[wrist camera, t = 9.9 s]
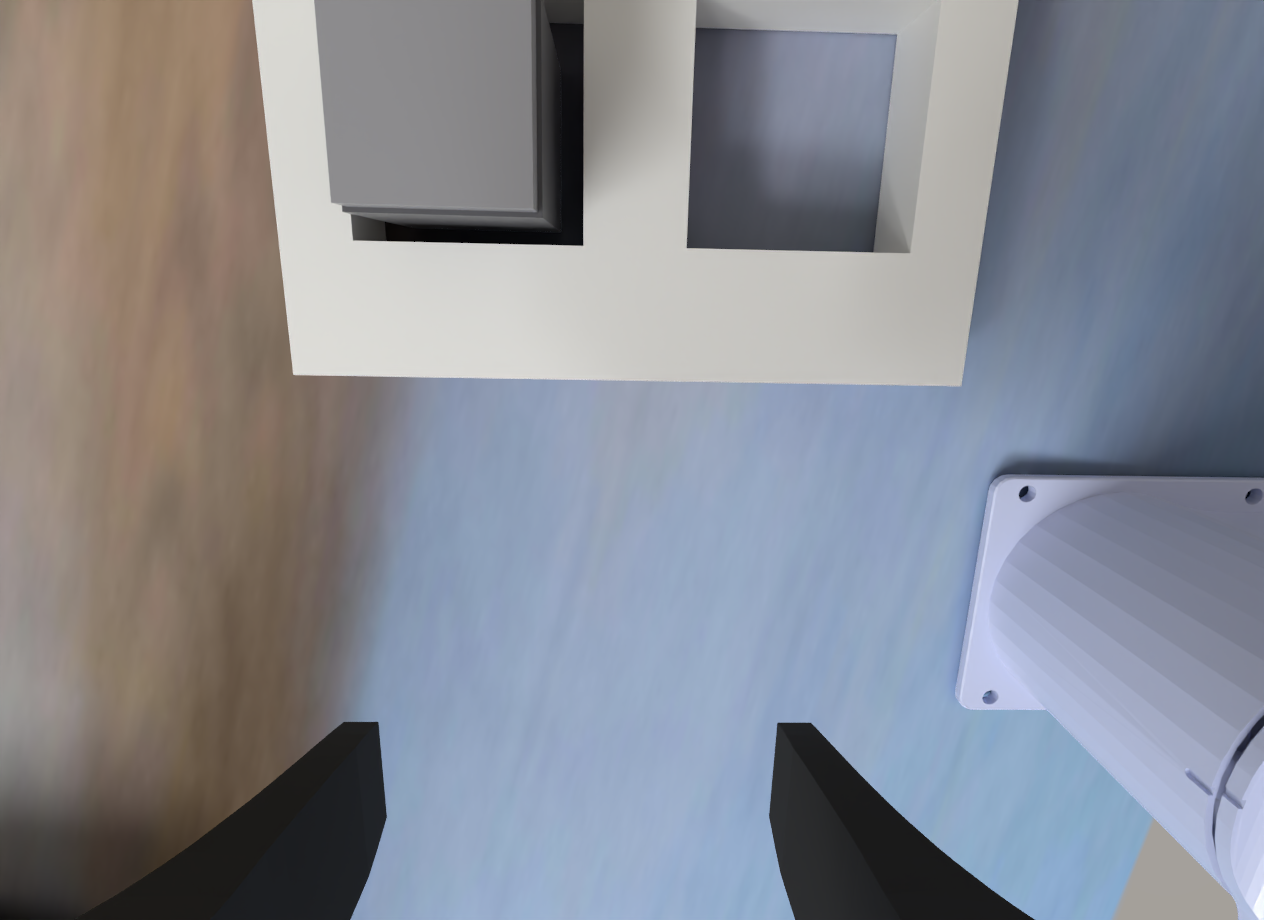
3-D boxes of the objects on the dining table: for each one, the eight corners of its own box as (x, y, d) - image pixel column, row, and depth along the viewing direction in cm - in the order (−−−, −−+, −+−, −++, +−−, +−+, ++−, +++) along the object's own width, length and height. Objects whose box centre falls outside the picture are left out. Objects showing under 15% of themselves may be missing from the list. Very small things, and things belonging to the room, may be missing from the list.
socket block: (983, -112, 17) (1050, -183, 14) (919, 372, 20) (964, 387, 17) (285, -139, 16) (223, -217, 14) (333, 362, 20) (290, 375, 17)
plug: (561, 71, 18) (536, -27, 12) (561, 232, 19) (538, 215, 13) (406, 65, 18) (305, -37, 12) (415, 228, 19) (325, 208, 13)
